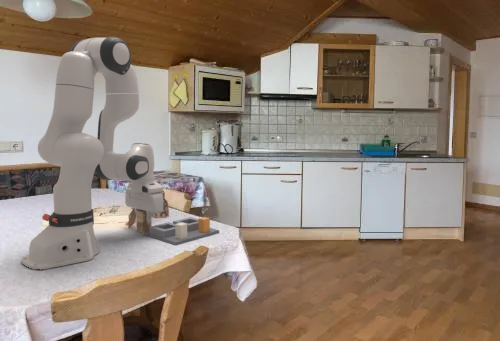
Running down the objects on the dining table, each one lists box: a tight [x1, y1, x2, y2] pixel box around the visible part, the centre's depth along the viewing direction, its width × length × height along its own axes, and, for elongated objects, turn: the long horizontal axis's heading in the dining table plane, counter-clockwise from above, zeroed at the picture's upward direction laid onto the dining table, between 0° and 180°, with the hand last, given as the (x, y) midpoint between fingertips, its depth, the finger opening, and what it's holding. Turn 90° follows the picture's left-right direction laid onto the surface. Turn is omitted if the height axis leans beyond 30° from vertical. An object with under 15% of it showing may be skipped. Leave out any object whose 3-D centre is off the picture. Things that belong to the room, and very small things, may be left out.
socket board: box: [143, 216, 220, 246], centre depth 160 cm, size 21×19×6 cm
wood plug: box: [135, 210, 153, 233], centre depth 164 cm, size 4×4×8 cm
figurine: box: [152, 190, 170, 219], centre depth 187 cm, size 7×7×12 cm
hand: (143, 220), depth 164 cm, fingers open, 4 cm apart
